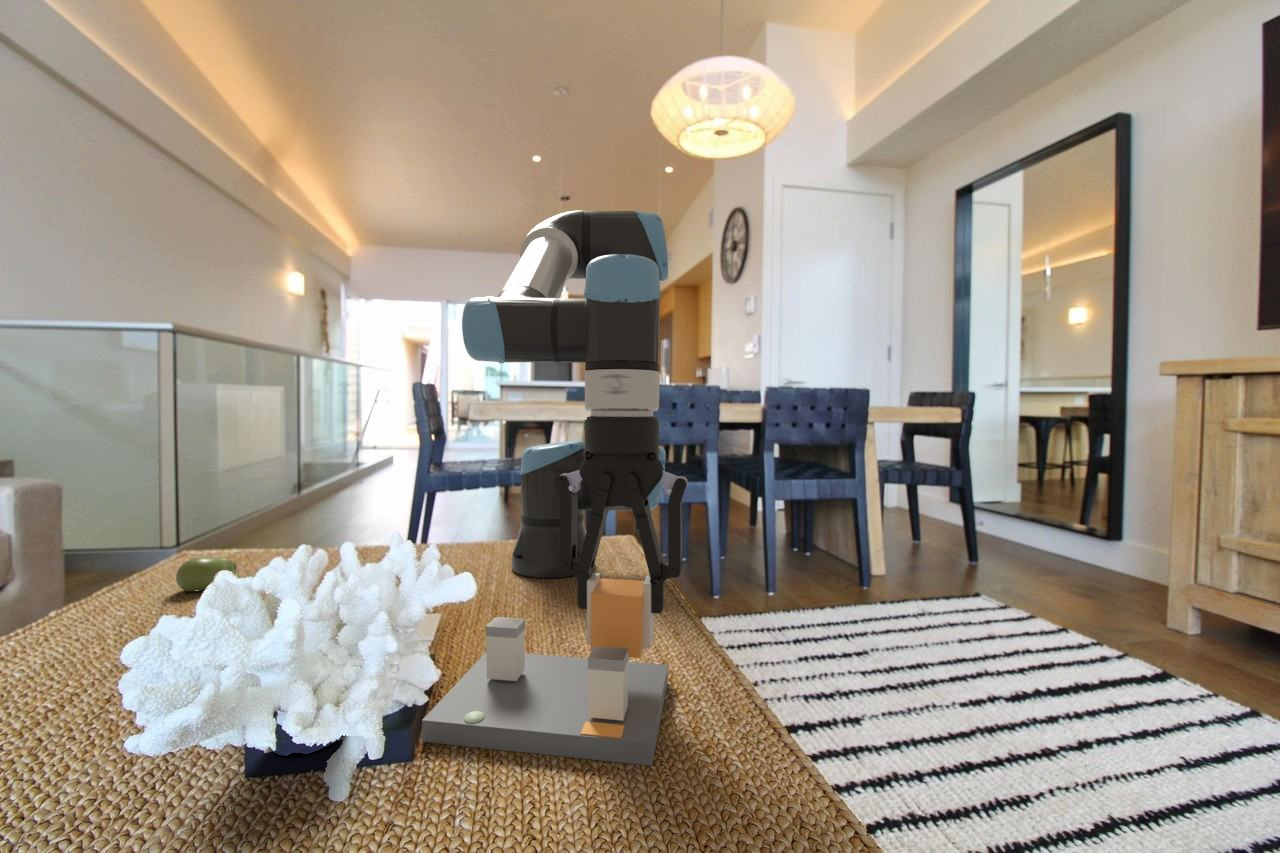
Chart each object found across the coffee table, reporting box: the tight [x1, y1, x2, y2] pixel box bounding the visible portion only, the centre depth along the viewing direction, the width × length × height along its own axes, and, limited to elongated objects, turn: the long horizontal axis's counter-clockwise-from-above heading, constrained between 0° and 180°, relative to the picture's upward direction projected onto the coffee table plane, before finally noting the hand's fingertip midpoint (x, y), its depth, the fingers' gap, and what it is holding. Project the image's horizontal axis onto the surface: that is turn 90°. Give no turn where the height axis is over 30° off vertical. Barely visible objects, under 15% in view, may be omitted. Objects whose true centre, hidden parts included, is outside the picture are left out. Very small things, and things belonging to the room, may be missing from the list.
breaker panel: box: [421, 652, 669, 767], centre depth 55 cm, size 14×21×2 cm, turn 82°
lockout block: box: [590, 577, 645, 659], centre depth 56 cm, size 5×5×6 cm
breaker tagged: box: [587, 646, 630, 721], centre depth 50 cm, size 2×3×6 cm
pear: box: [175, 556, 238, 592], centre depth 91 cm, size 6×5×10 cm
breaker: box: [485, 616, 526, 681], centre depth 57 cm, size 2×3×6 cm
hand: (620, 640), depth 56 cm, fingers closed on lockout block, 5 cm apart
